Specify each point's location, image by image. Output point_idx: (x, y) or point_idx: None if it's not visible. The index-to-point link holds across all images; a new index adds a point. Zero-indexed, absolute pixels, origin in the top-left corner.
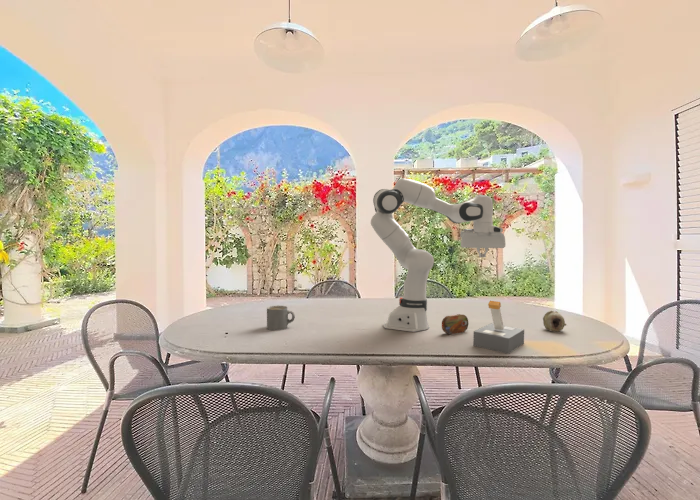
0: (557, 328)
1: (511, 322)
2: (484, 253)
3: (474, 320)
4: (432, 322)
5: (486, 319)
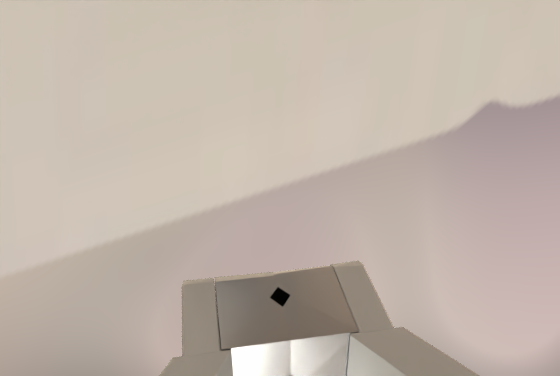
0: None
1: (13, 189)
2: (229, 367)
3: (230, 165)
4: (481, 37)
5: (161, 210)
